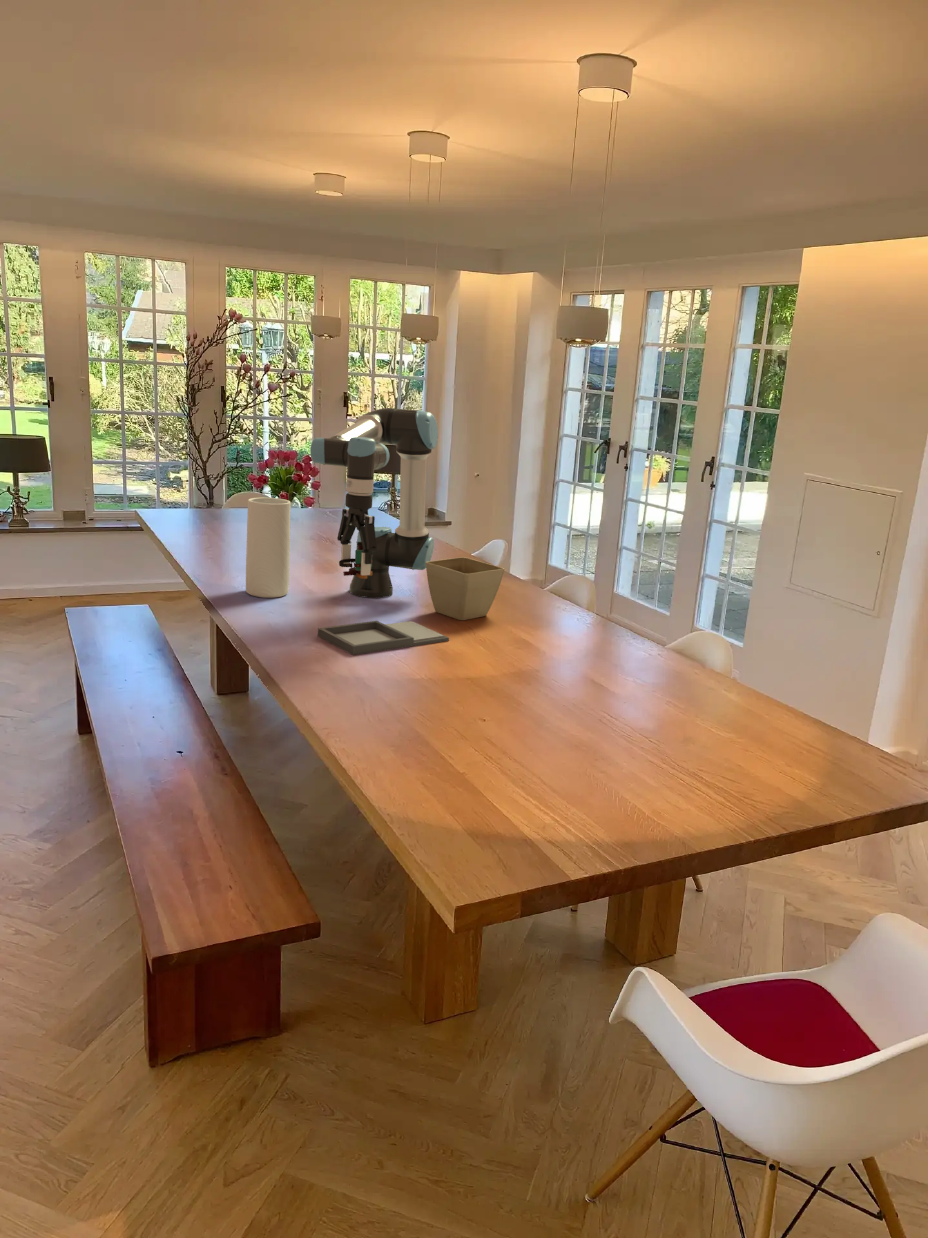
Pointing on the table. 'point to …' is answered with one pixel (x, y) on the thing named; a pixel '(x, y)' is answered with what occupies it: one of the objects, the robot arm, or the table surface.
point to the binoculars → (357, 564)
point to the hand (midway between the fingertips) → (355, 570)
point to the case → (379, 636)
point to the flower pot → (463, 586)
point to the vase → (268, 547)
